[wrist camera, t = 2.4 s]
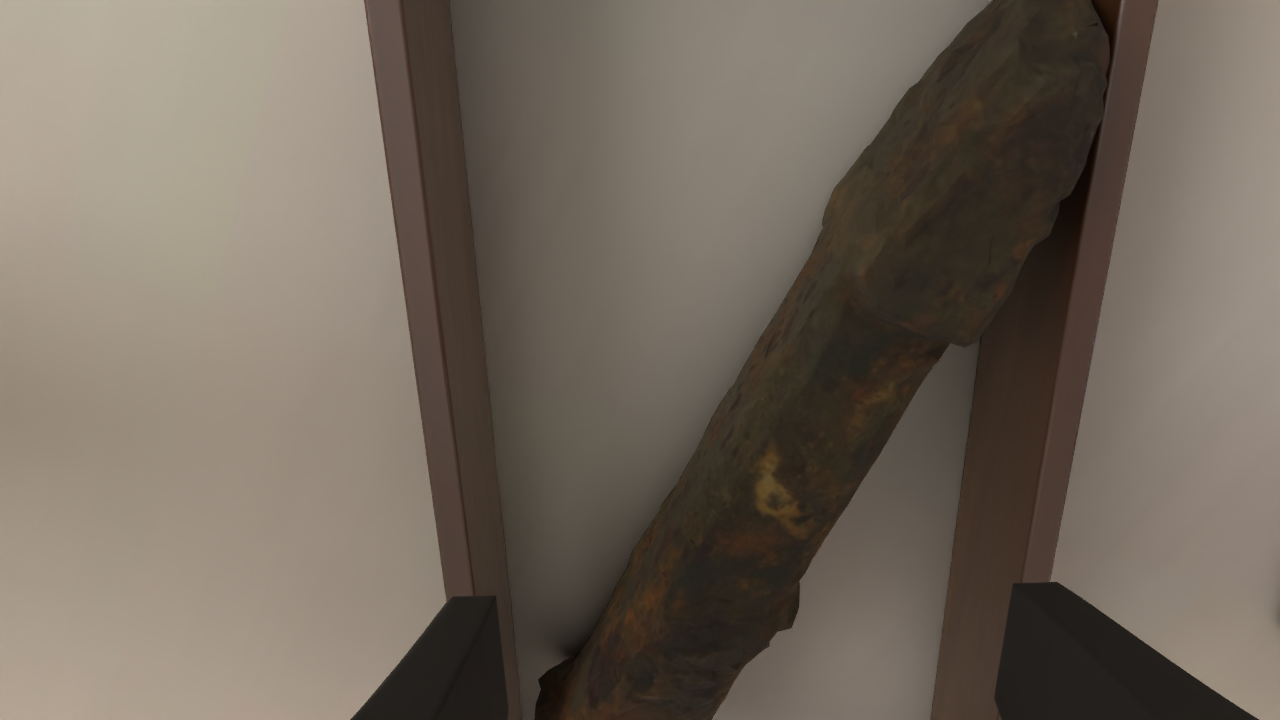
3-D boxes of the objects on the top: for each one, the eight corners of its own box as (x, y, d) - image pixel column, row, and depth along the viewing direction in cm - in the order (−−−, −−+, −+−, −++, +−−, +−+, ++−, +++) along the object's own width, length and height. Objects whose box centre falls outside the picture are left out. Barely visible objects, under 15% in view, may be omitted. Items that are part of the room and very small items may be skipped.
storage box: (1084, -197, 15) (1208, -258, 12) (944, 766, 23) (994, 886, 20) (397, -175, 15) (331, -231, 12) (507, 775, 23) (485, 896, 20)
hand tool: (672, 714, 23) (682, 877, 18) (537, 661, 22) (515, 817, 18) (1126, 50, 16) (1302, 60, 12) (959, -54, 16) (1082, -83, 11)
